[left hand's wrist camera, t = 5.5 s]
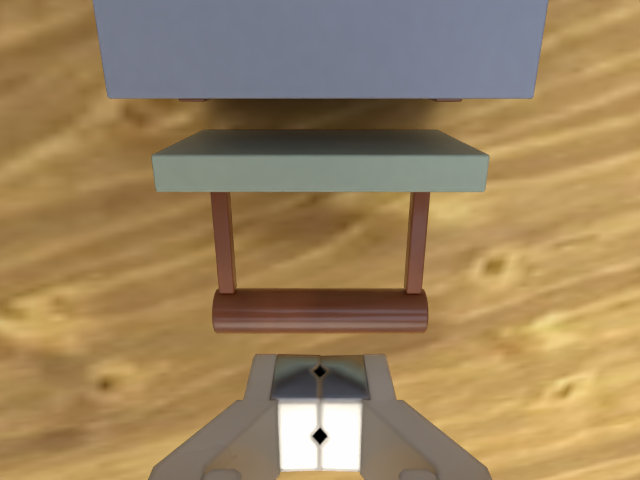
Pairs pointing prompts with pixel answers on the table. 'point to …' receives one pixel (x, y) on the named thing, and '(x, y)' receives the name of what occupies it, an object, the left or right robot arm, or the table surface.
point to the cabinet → (320, 48)
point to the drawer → (320, 176)
